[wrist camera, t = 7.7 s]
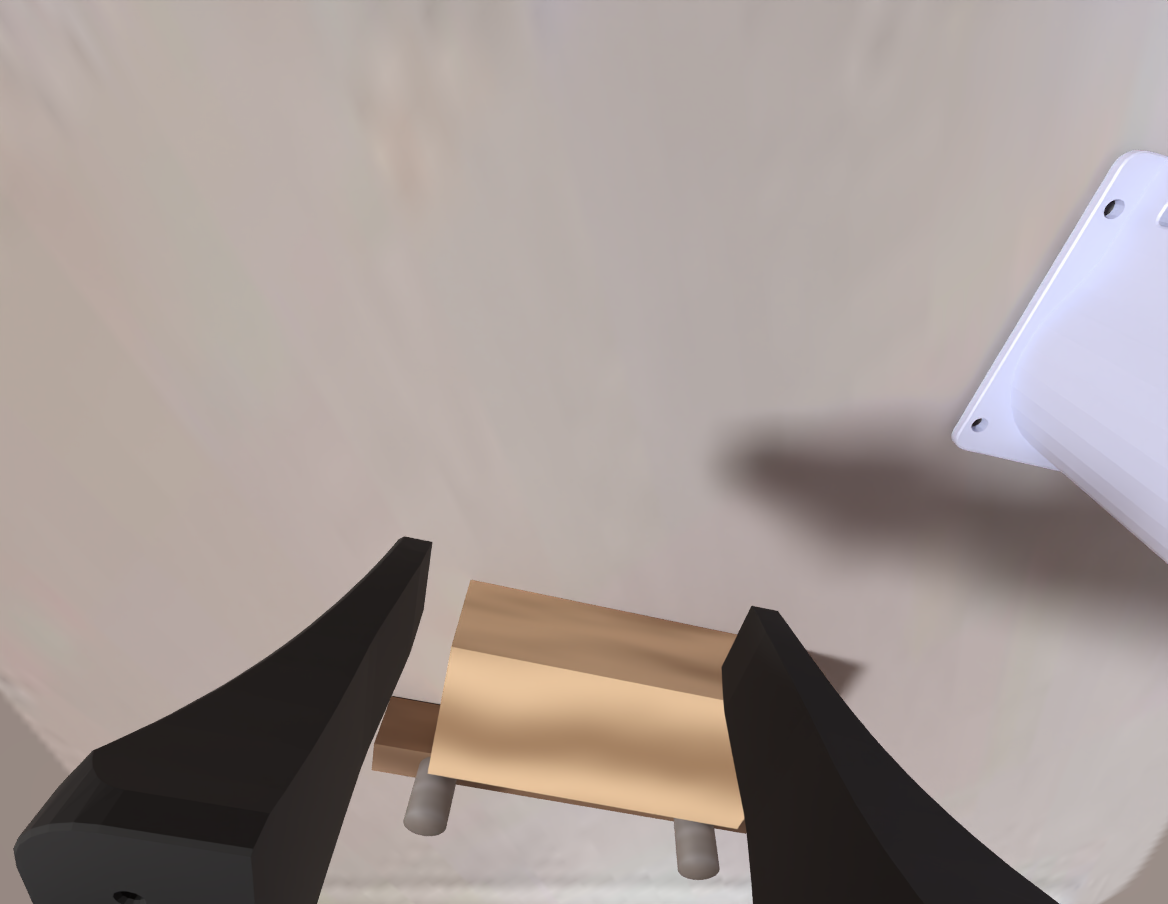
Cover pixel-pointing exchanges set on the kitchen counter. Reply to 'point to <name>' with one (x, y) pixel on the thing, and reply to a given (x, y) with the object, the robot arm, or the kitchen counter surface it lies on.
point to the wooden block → (588, 706)
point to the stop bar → (498, 787)
